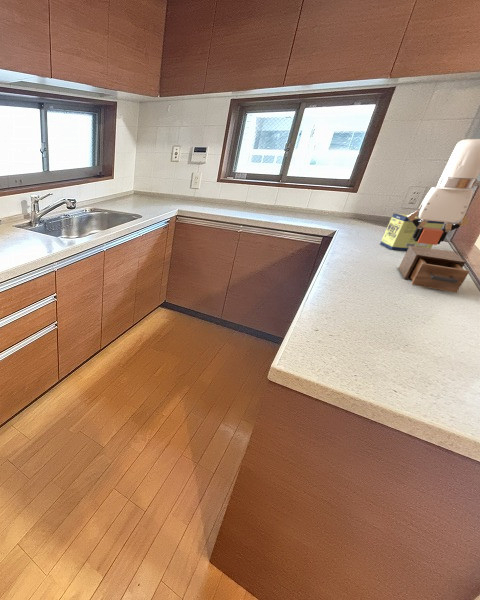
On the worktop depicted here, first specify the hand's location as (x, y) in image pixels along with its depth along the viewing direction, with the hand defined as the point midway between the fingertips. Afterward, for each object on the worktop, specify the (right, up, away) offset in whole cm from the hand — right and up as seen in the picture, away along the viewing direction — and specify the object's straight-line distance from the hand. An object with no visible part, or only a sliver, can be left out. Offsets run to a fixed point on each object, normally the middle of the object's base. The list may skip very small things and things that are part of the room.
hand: (426, 241), depth 107 cm
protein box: (+44, +6, +52) cm, 68 cm away
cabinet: (+17, -11, +17) cm, 26 cm away
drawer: (+10, -14, +8) cm, 19 cm away
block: (0, 0, 0) cm, 0 cm away
